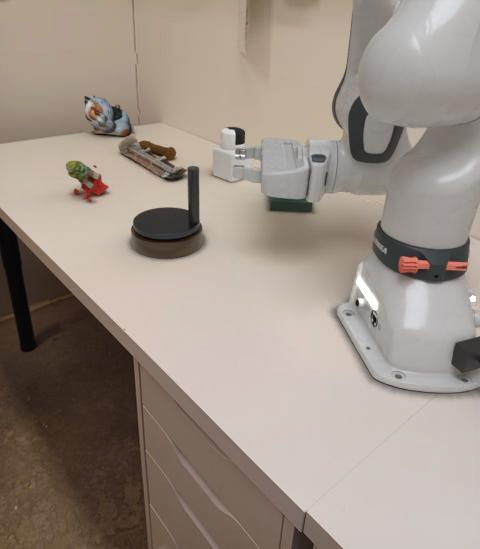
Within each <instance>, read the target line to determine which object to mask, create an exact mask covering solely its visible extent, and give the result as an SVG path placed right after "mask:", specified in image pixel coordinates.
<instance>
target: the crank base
mask: <svg viewBox="0 0 480 549" xmlns="http://www.w3.org/2000/svg"><path fill="white" fill-rule="evenodd" d="M203 228H204V227H203V225H202V223H201V222H200V227H199V229H198V230H197V231H196V232H194V233H193V234H191V235H188V236H186V237H182V238H177V239H153V238H148V237H145V236H142V235H140V234H138V233H137V232H136V231H135V230H134V227H133V224H132V225H131V228H130V235H131V246H132V248H133V250H135V252H136V253H138V254H140V255H142V256H145V257H149V258H152V259H153V258H154V259H161V260H162V259H163V260H164V259H165V260H167V259H168V260H169V259H177V258H182V257H187V256H189V255H192V254H194V253H196V252H197V251H199V250H200V249H201V248H202V246H203V241H204V240H203V239H204V238H203V236H204V235H203V234H204V232H203Z"/></svg>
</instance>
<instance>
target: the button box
mask: <svg viewBox="0 0 480 549" xmlns="http://www.w3.org/2000/svg"><path fill="white" fill-rule="evenodd" d="M313 204H314V203H313V202H308V201H307V200H306V197H305V198H304V199H287V198H277V197H270V196H269V210H270V211H278V212H279V211H281V212H298V213H299V212H301V213H302V212H303V213H312V212H313Z"/></svg>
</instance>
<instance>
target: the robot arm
mask: <svg viewBox="0 0 480 549" xmlns="http://www.w3.org/2000/svg"><path fill="white" fill-rule="evenodd" d="M349 32H350V33H349V39H348V48H347V56H346V57H347V59H346V64H345V69H344V73H343V75H342V78H341V80H340V81H339V84H338V86H337V88H336V90H335V93H334V95H333V98H332V101H331V103H332V104H331V112H332V117H333V119H334V122H335V123H336V125H337V126H338V127H339V128H340V129H341V130H342V131H343V132H342V137H341V138H340V139H339V140H334V139H315V138H307V140H306V142H305V145H303V143H302V142H301V141H299V140H295V139H289V138H280V137H279V138H278V137H264V138H262V139H261V141H260V142H261V143H260V145H251V146H247V147H246V148H236V150H235V159H237V160H245V159H254V160H258V161H260V167H258V166H257V167H256V166H255V167H254V168H253V167H251V168H248V167H244V165H234V166H233V172H232V176H233V178H236V179H240V180H244V181H247V182H251V183H253V184H254V183H255V184H260V192H261V194H263V195H265V196H267V197H269V198H270V197H277V198H287V199H304V198H305V197H306V200H307V201H308V202H313V204H314V203H320V202H321V200H322V198H323V197H324V195H325V194H329V195H330V194H338V193H348V194H351V195H354V196H385V198H384V204H383V209H382V213H381V219H380V220H378V221H377V223H376V228H375V229H374V233H373V237H372V238H373V241H372V245H371V247H372V250H371V252H370V253H369V254H368V256H366V257H365V258H364V259H363V260H362V261H360V263H358V264H357V268H356V272H355V276H354V280H353V282H352V283H353V284H352V288H351V292H350V296H349V300H348V301H346V302H344V303H341V304H340V305H339V306H338V307H337V309H336V316H337V317H338V319H339V321H340V323H341V325H342V326H343V328H344V329H345V331H346V333H347V335H348V336H349V338H350V340H351V342H352V343H353V345H354V347H355V349H356V351H357V352H358V354H359V356H360V357H361V358H360V359H361V360H362V361H363V363H364V365H365V366H366V368H367V370H368V371H369V373H370V375H371V376H372V377H373V378H374V379H375V380H376V381H379V382H381V383H383V384H386V385H389V386H392V387H396V388H398V389H399V388H400V389H403V390H410V391H414V392H415V391H416V392H423V393H424V392H426V393H442V394H443V393H444V394H445V393H447V394H448V393H462V392H468V391H474V390H476V389H479V388H480V336H476V329H479V328H480V309H473V307H472V302H473V303H474V302H476V298H477V296H474V295H473V293H474V289H473V287H470V286H468V282H467V277H466V272H467V271H468V266H469V265H470V263H469V259H470V255H471V250H470V249H471V248H470V247H471V238H470V236H469V235H470V233H471V230H472V227H473V224H474V221H475V217H476V214H477V212H478V209H479V206H480V0H352V12H351V20H350V31H349ZM408 128H409V129H425V131H424V132H423V133H422V136H420V138H419V139H418V141H417V142H416V143H415V145H414V146H412V144H411V141H410V137H409V133H408Z"/></svg>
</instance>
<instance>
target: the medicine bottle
mask: <svg viewBox="0 0 480 549" xmlns="http://www.w3.org/2000/svg"><path fill="white" fill-rule="evenodd" d="M245 146H246V131H245V129H243V128H242V127H238V126H227V127H224V128H222V129H221V130H220V145H219V146H216V147H215V146H214V147H213V148H212V175H213V176H215V177H217V178H220V179H223V180H225V181H228V182H229V183H233V182H237V181H239V180H241V179H236V178H233V176H232V172H233V166H234V165H244V167H248V168H252V161H253V160H252V159H253V158H252V159H245V160H237V159H235V150H236V148H246V147H245Z"/></svg>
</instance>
